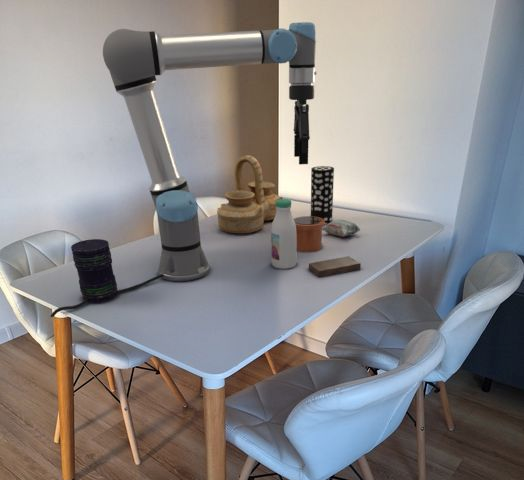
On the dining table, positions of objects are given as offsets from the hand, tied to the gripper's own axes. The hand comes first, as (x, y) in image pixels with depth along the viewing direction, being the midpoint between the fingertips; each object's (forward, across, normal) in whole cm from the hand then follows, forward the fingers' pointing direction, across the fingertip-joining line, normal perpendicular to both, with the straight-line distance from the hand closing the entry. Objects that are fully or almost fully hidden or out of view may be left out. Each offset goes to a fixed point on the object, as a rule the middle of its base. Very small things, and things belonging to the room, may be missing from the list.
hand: (300, 160), depth 161 cm
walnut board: (+28, -24, -8) cm, 37 cm away
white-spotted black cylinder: (+28, +27, -12) cm, 41 cm away
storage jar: (+29, -35, +60) cm, 75 cm away
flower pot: (+28, -2, -2) cm, 28 cm away
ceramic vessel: (+28, +30, +15) cm, 44 cm away
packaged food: (+28, +9, -16) cm, 33 cm away
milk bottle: (+28, -18, +7) cm, 34 cm away
